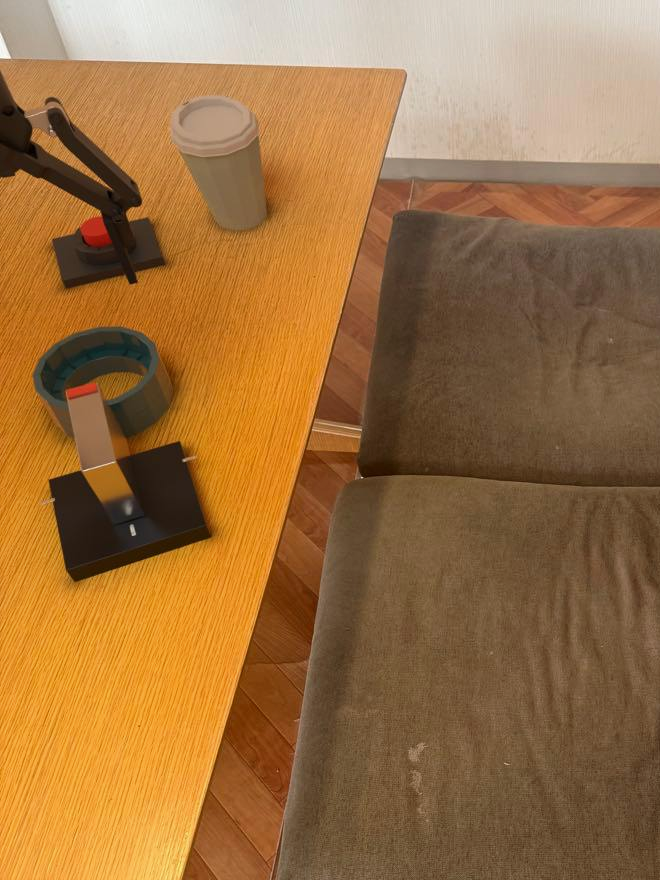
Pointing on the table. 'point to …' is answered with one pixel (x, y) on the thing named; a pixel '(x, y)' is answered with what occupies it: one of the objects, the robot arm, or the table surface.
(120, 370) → the teal ring
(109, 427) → the reflective bent rectangular block
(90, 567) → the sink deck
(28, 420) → the table surface
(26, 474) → the table surface
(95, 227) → the button
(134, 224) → the button box
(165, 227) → the table surface
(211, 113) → the disposable coffee cup
